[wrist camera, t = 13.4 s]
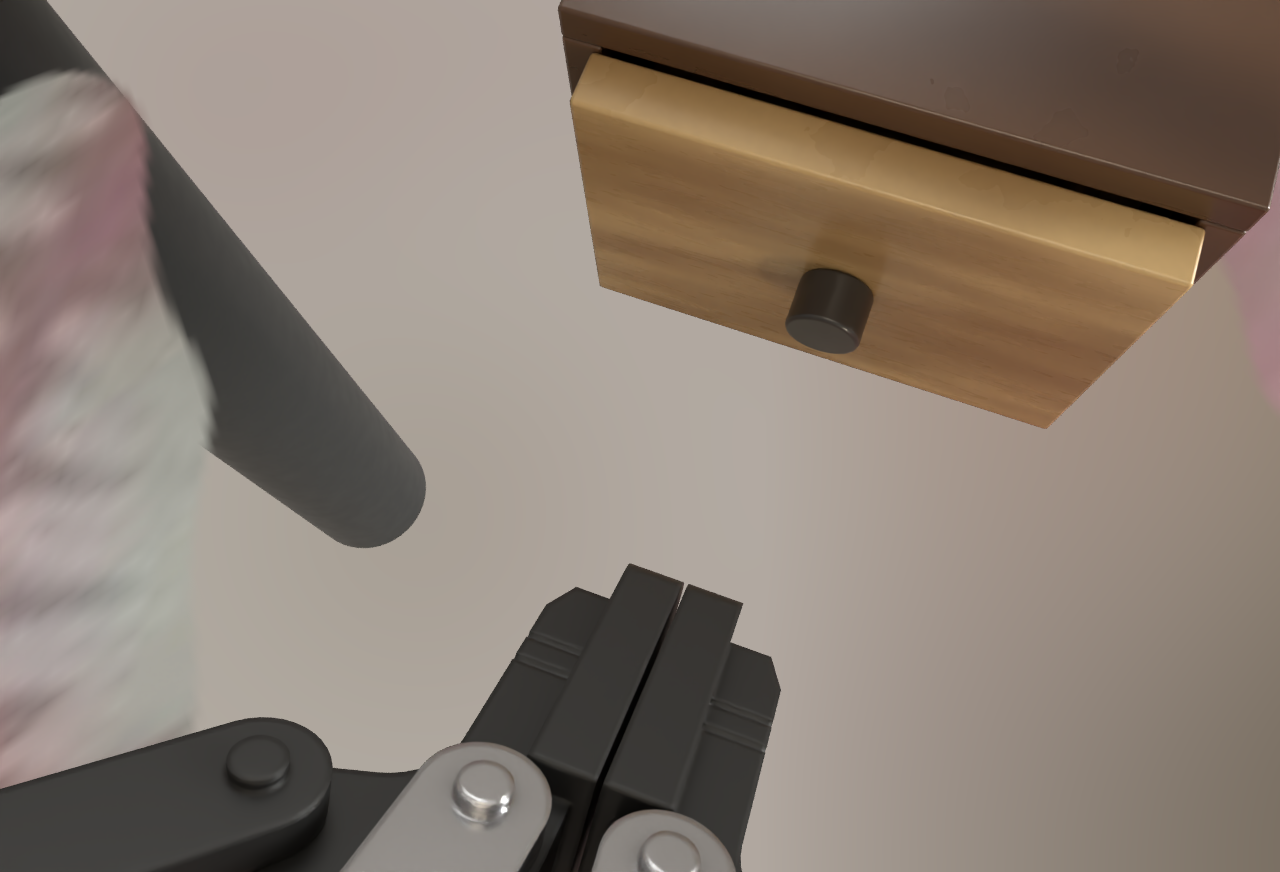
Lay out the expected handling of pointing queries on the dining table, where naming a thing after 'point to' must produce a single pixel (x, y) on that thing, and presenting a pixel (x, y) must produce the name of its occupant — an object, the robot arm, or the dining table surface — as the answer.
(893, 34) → the wooden drawer box
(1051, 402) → the wooden drawer with knob
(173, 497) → the dining table surface
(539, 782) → the robot arm
